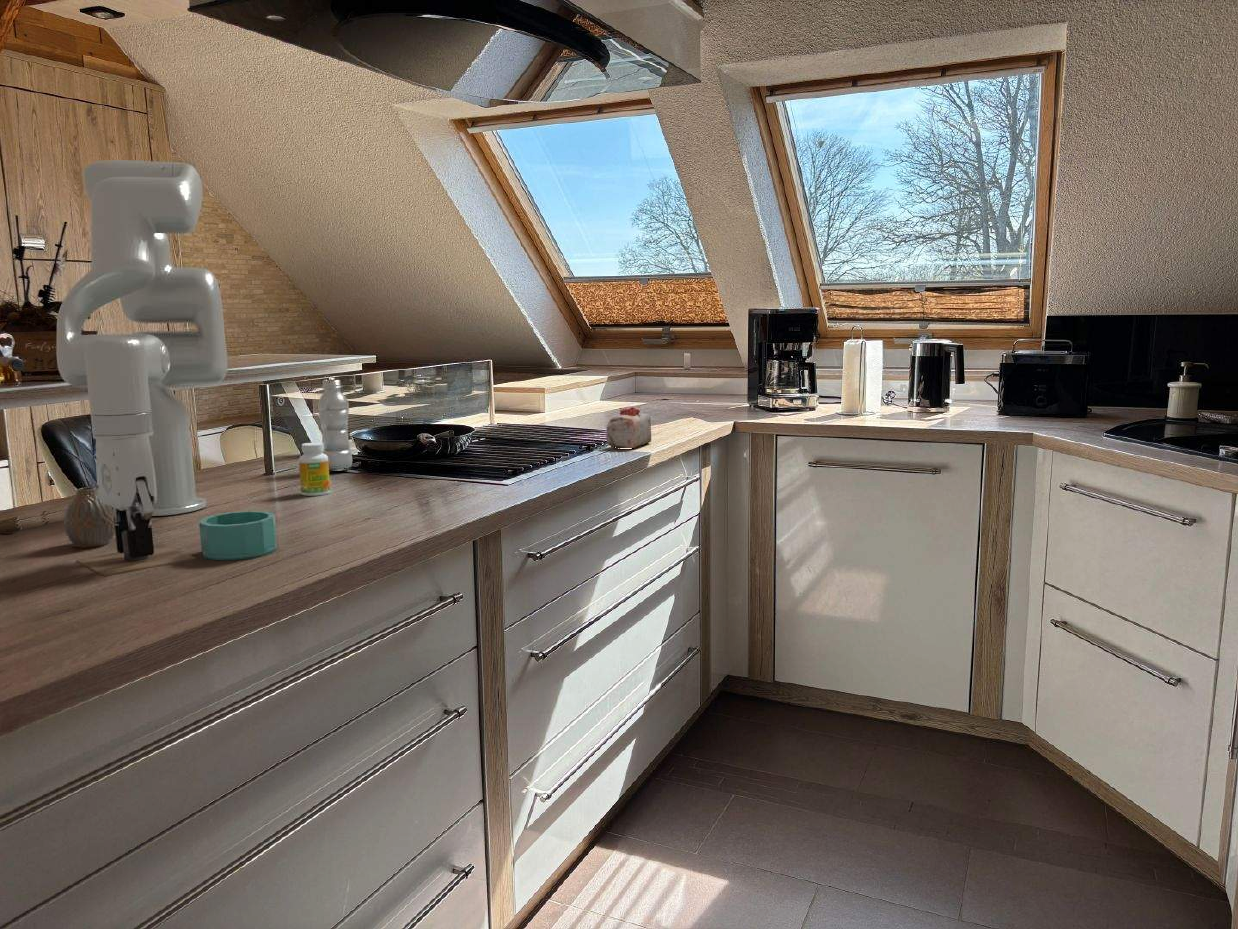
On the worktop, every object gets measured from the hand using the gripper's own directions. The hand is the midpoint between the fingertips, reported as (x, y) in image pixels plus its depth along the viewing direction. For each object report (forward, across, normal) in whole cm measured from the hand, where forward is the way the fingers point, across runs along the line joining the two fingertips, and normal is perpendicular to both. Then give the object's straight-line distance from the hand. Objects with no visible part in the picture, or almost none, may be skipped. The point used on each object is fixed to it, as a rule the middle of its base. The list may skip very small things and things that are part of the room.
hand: (135, 552), depth 135 cm
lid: (+2, 0, 0) cm, 2 cm away
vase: (+1, -15, -1) cm, 15 cm away
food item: (+1, -21, +125) cm, 127 cm away
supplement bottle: (+1, -26, +42) cm, 49 cm away
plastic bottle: (+1, -46, +58) cm, 74 cm away
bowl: (+1, +7, +12) cm, 14 cm away
